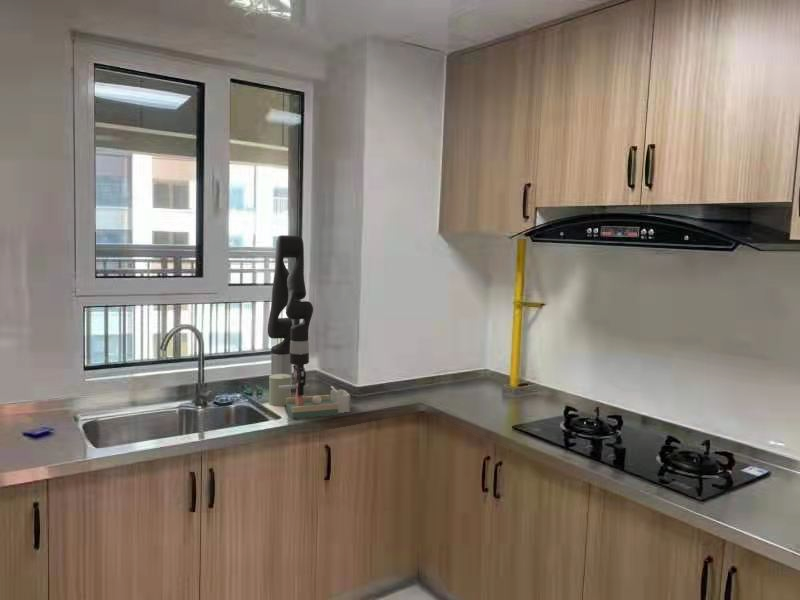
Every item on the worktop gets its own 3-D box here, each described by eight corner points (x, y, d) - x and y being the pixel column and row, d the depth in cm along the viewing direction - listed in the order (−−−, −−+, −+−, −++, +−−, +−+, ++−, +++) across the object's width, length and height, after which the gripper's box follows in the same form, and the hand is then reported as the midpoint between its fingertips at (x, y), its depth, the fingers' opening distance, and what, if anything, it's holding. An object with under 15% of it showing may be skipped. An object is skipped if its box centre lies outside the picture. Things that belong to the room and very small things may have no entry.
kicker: (277, 404, 245) (277, 382, 244) (307, 402, 249) (307, 380, 248) (280, 409, 239) (280, 386, 238) (311, 407, 243) (311, 384, 242)
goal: (330, 406, 254) (330, 386, 254) (343, 405, 256) (343, 385, 256) (336, 413, 245) (336, 391, 244) (350, 412, 247) (350, 390, 246)
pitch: (286, 408, 251) (286, 397, 250) (329, 405, 257) (329, 394, 256) (292, 418, 237) (292, 407, 236) (338, 415, 243) (338, 404, 242)
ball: (310, 404, 248) (310, 394, 248) (320, 403, 250) (320, 394, 249) (312, 407, 245) (312, 397, 244) (322, 406, 246) (322, 396, 246)
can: (279, 407, 253) (279, 378, 252) (264, 403, 258) (264, 375, 257) (295, 402, 260) (295, 374, 259) (281, 399, 266) (281, 371, 264)
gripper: (286, 348, 248) (286, 389, 250) (293, 355, 235) (293, 398, 236) (305, 348, 251) (305, 388, 252) (312, 354, 237) (312, 397, 239)
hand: (299, 393), depth 244 cm, fingers open, 5 cm apart
